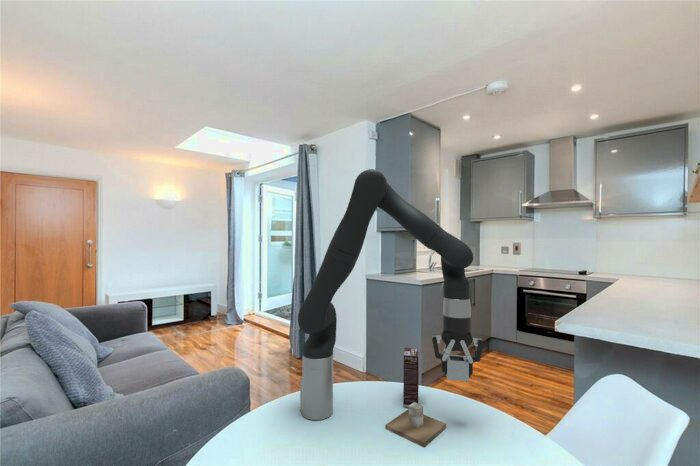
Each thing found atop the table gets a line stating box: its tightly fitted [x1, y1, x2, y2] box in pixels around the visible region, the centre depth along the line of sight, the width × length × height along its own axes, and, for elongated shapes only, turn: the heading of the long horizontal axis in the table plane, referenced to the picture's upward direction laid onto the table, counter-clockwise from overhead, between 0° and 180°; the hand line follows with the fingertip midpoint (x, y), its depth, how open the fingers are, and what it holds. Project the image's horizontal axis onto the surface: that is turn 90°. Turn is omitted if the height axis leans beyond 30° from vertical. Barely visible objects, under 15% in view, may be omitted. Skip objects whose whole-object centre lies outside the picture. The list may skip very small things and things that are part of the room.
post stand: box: [384, 402, 447, 448], centre depth 87 cm, size 12×12×6 cm
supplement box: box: [402, 347, 420, 409], centre depth 102 cm, size 9×5×16 cm, turn 168°
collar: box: [445, 354, 470, 382], centre depth 89 cm, size 6×6×5 cm
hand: (456, 374), depth 89 cm, fingers closed on collar, 5 cm apart
